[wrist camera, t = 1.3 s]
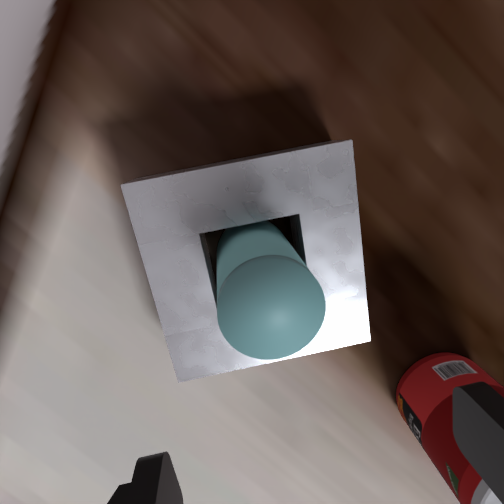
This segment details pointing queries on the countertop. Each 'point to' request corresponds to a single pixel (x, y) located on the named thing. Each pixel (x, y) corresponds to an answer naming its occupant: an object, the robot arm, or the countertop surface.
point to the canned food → (443, 419)
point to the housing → (240, 213)
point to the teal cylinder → (265, 293)
